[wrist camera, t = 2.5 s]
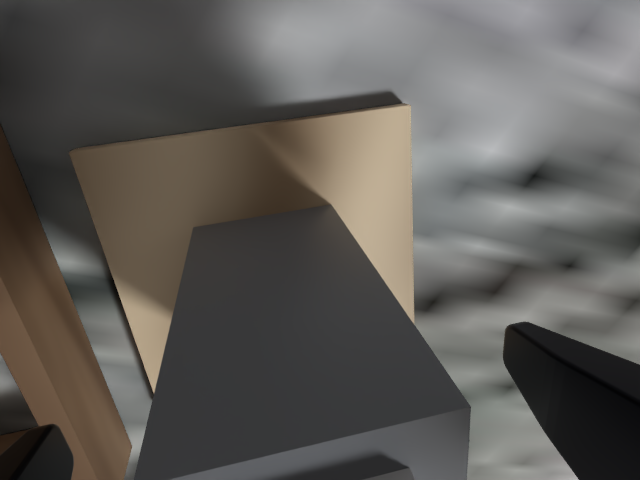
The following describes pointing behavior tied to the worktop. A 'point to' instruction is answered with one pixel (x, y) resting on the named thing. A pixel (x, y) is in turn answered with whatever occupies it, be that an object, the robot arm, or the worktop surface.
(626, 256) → the worktop surface
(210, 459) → the plug
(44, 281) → the socket strip
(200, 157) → the pad
